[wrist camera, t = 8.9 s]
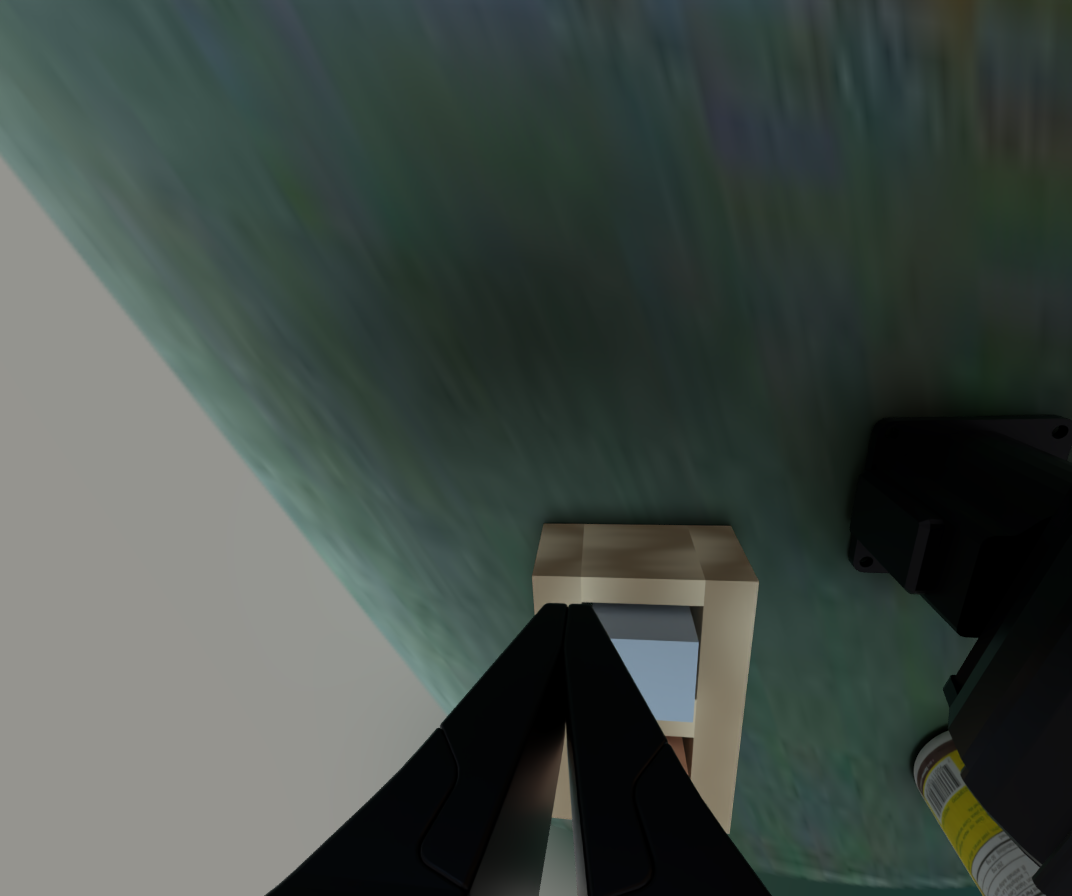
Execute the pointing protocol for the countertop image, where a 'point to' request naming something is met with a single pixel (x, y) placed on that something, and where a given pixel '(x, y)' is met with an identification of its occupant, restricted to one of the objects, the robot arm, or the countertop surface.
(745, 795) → the countertop surface
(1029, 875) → the supplement bottle
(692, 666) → the light blue square block
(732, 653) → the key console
